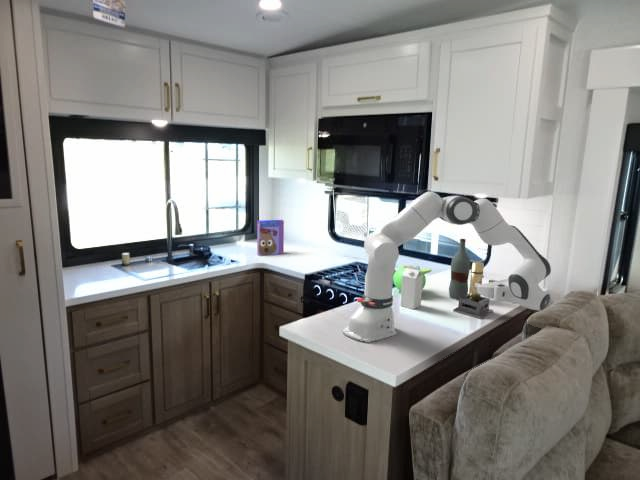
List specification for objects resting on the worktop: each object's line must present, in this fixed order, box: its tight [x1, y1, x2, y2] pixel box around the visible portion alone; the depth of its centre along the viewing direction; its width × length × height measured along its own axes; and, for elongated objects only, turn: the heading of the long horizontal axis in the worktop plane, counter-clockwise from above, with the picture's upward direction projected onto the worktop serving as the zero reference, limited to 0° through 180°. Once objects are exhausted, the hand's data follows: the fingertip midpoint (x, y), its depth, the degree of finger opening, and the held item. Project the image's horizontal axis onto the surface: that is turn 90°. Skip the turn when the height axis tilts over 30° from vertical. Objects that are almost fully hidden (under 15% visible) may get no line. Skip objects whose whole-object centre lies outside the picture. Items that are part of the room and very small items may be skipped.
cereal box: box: [256, 219, 285, 257], centre depth 303 cm, size 17×5×24 cm, turn 113°
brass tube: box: [468, 261, 485, 309], centre depth 199 cm, size 5×5×22 cm
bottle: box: [448, 238, 471, 301], centre depth 219 cm, size 9×9×30 cm
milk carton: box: [399, 265, 423, 310], centre depth 206 cm, size 7×7×19 cm
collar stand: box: [453, 293, 494, 320], centre depth 201 cm, size 13×13×6 cm
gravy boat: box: [393, 264, 433, 292], centre depth 227 cm, size 18×17×15 cm
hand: (482, 282), depth 196 cm, fingers open, 8 cm apart
